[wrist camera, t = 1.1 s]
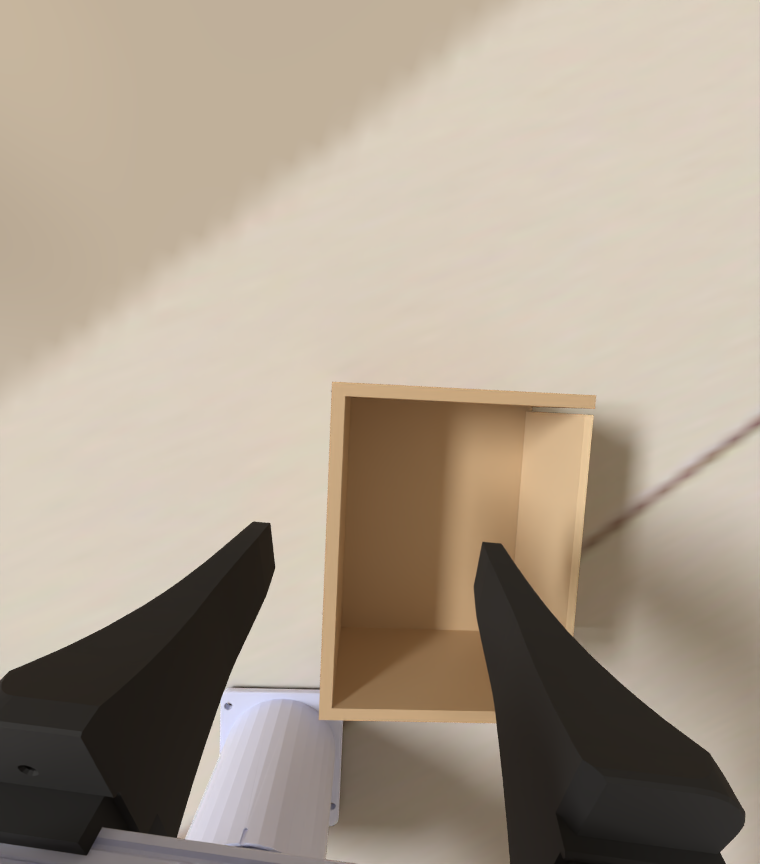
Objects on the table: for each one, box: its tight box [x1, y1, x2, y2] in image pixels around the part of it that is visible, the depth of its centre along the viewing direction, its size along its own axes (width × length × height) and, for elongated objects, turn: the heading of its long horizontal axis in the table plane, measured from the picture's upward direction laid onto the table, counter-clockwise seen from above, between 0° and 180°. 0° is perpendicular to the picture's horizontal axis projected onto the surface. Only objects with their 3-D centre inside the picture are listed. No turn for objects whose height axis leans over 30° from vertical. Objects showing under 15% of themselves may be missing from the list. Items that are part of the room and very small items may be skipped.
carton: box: [319, 382, 596, 723], centre depth 21 cm, size 16×12×7 cm
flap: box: [514, 411, 594, 636], centre depth 21 cm, size 14×1×6 cm, turn 177°
